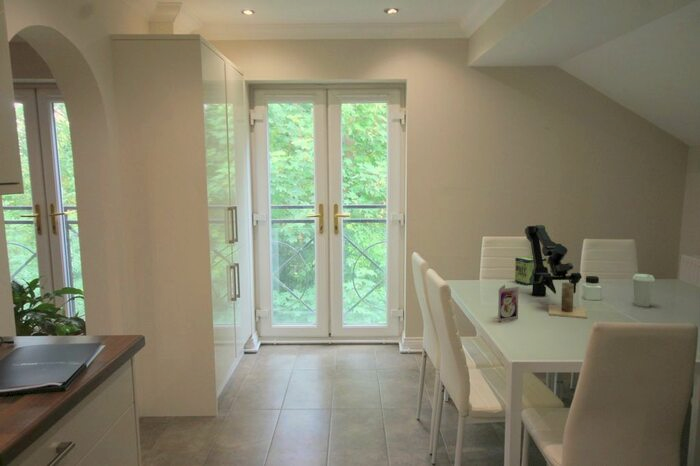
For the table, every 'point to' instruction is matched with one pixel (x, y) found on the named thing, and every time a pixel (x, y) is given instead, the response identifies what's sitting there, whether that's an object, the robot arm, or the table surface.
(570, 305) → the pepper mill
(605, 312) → the table surface
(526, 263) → the protein box
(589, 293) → the medicine bottle
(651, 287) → the coffee cup
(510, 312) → the greeting card
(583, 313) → the beige square board
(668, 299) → the table surface
